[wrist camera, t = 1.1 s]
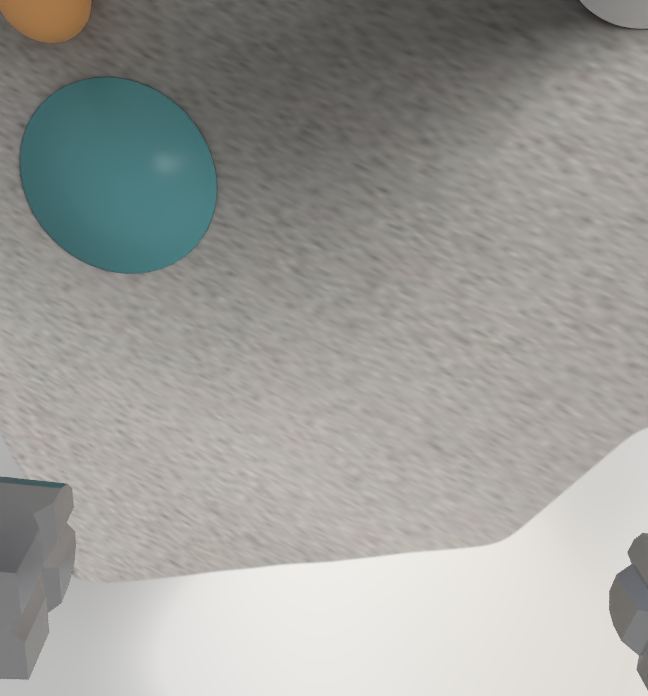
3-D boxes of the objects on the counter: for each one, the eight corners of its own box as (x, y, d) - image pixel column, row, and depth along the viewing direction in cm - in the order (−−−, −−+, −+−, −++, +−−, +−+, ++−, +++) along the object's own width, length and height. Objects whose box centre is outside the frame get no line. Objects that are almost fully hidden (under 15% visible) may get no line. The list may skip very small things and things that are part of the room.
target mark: (-12, 99, 42) (-13, 100, 42) (186, 58, 41) (185, 58, 41) (64, 287, 48) (63, 288, 48) (237, 253, 47) (237, 254, 47)
